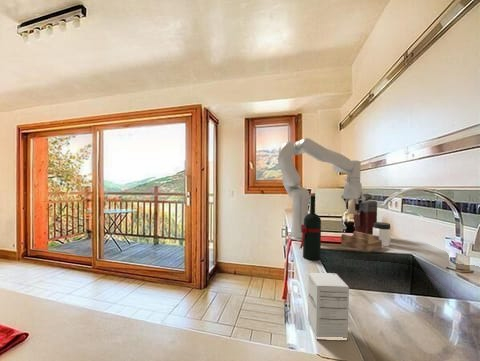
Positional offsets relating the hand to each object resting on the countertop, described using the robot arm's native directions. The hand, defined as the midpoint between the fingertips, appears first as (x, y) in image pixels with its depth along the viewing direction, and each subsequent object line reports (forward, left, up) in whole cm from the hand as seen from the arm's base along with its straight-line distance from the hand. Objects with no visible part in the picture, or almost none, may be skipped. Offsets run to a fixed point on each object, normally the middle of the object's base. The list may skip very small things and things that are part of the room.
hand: (352, 209), depth 143 cm
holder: (+11, -12, -18) cm, 25 cm away
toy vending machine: (+2, +11, -18) cm, 22 cm away
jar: (+16, +2, -18) cm, 24 cm away
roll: (0, 0, -3) cm, 3 cm away
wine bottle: (+8, -52, -18) cm, 55 cm away
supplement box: (+42, -91, -18) cm, 102 cm away
